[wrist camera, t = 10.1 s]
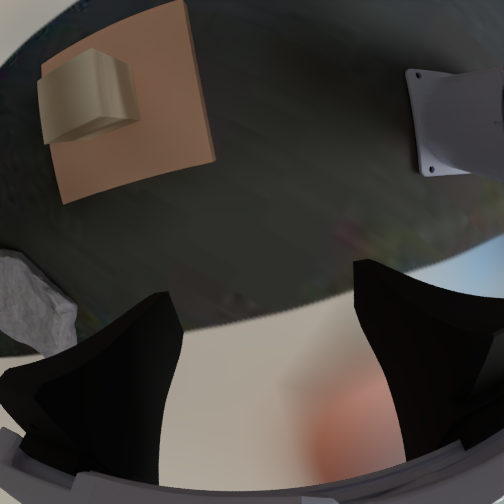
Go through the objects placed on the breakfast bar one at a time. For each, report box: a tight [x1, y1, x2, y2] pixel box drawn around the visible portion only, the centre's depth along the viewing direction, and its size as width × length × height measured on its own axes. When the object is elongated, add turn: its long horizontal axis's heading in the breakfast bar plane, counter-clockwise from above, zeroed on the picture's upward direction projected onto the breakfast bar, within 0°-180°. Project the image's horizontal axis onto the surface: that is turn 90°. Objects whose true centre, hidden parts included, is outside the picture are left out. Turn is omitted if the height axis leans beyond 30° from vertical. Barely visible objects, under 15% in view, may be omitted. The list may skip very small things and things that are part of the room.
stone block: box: [0, 249, 77, 358], centre depth 21 cm, size 12×5×10 cm
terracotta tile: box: [41, 0, 216, 205], centre depth 16 cm, size 12×12×2 cm
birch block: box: [37, 48, 141, 144], centre depth 12 cm, size 4×4×5 cm
